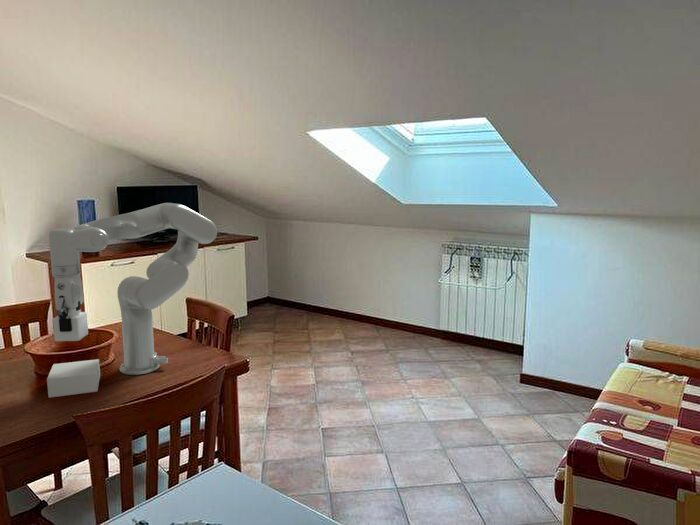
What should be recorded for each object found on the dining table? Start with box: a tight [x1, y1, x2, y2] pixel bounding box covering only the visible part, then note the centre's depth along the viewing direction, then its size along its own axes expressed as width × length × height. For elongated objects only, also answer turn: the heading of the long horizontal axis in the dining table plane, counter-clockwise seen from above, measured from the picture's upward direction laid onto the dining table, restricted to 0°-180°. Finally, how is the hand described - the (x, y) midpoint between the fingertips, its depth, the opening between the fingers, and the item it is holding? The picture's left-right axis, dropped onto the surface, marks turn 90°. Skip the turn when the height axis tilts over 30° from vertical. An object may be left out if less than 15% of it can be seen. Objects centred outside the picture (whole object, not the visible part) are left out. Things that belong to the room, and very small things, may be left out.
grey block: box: [46, 358, 101, 398], centre depth 160 cm, size 13×13×6 cm
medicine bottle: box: [52, 301, 89, 342], centre depth 157 cm, size 7×7×12 cm
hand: (71, 326), depth 157 cm, fingers closed on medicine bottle, 7 cm apart
